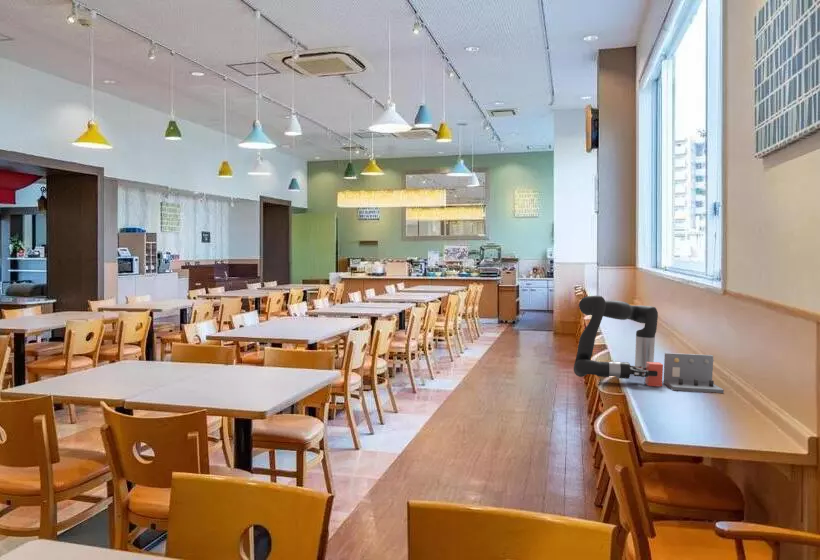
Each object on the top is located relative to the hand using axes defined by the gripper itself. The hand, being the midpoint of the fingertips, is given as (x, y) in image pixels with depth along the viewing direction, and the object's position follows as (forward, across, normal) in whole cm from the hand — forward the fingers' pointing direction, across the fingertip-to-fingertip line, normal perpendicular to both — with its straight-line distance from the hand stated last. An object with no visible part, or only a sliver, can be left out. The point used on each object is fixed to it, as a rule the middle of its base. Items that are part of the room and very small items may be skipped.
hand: (655, 371), depth 288 cm
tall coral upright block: (0, 0, +6) cm, 6 cm away
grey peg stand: (+16, -1, +6) cm, 17 cm away
